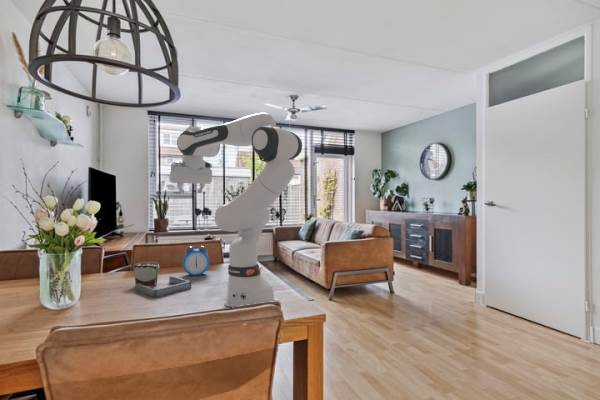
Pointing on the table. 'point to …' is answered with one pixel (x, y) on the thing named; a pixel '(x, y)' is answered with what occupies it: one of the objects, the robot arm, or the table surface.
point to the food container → (146, 273)
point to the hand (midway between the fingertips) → (190, 193)
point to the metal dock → (180, 285)
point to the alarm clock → (196, 260)
